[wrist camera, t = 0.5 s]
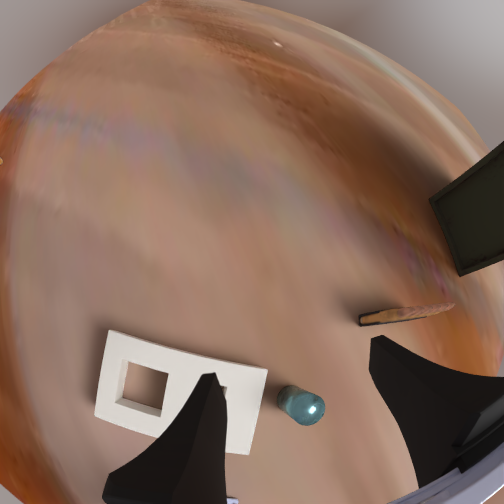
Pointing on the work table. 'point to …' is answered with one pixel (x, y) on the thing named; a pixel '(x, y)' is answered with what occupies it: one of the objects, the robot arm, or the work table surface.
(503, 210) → the dark green bin
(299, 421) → the teal cylinder
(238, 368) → the bore block
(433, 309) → the ammunition clip
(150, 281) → the work table surface
